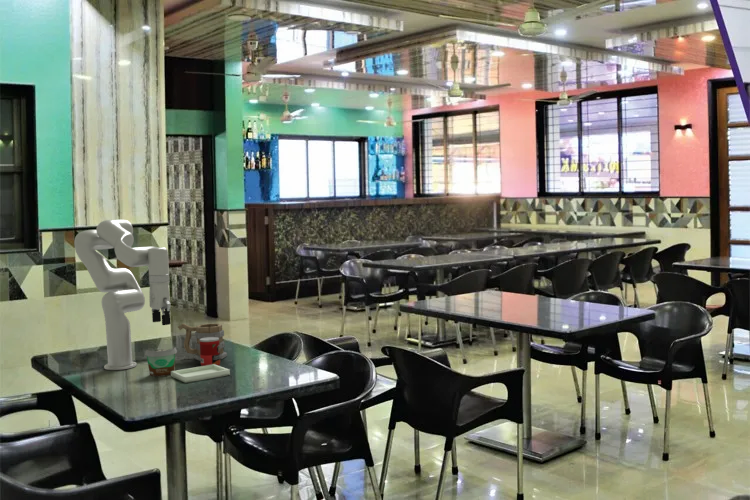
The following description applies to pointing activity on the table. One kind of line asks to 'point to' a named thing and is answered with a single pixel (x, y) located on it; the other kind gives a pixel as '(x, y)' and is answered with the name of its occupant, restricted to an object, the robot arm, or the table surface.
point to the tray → (200, 373)
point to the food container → (161, 362)
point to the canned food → (209, 351)
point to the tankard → (203, 332)
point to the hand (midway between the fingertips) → (161, 323)
